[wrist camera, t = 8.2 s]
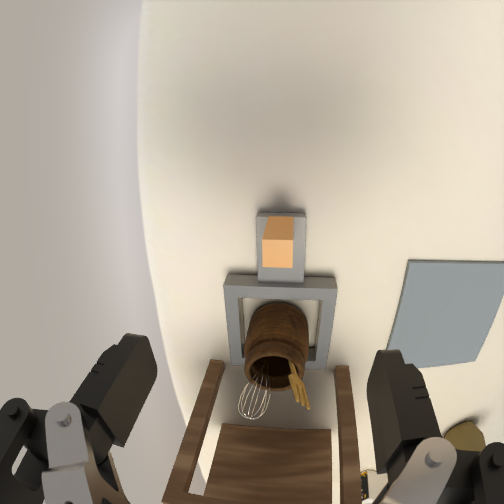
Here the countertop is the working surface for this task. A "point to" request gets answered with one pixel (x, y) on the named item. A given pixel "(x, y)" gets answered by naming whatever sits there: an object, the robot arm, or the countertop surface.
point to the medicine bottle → (371, 485)
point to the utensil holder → (277, 351)
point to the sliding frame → (280, 283)
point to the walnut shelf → (268, 456)
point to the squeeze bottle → (466, 437)
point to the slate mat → (446, 311)
